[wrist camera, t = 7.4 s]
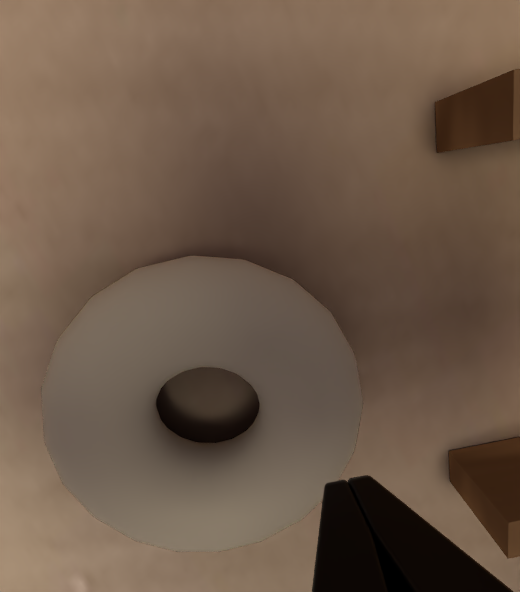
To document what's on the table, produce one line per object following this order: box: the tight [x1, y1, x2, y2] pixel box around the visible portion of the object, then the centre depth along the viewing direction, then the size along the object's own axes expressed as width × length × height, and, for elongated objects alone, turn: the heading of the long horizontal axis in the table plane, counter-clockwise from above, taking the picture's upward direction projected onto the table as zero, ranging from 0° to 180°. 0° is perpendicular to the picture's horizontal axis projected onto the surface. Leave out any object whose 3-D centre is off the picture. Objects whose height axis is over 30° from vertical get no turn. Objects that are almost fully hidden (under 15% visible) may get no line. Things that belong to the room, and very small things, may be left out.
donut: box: [41, 255, 363, 552], centre depth 13 cm, size 10×3×10 cm
